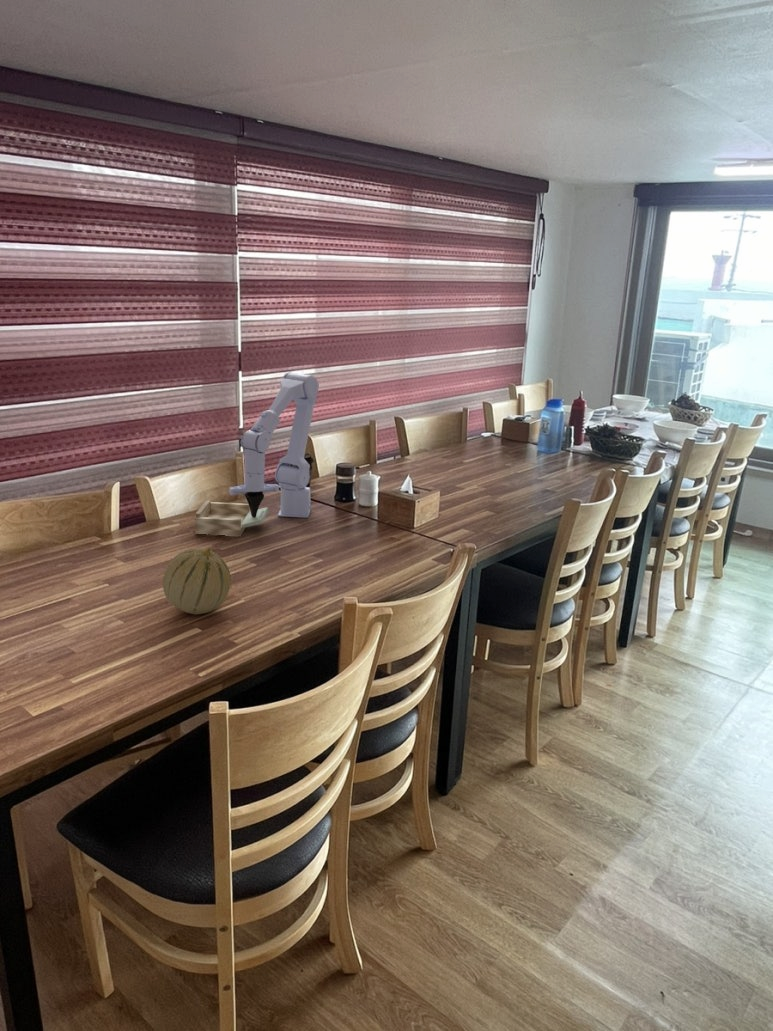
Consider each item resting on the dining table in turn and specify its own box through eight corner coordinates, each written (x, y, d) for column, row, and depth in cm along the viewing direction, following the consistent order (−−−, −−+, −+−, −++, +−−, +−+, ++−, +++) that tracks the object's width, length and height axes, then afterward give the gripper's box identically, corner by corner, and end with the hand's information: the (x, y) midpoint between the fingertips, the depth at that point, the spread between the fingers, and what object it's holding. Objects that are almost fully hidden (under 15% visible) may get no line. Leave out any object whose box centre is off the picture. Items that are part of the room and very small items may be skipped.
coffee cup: (315, 488, 257) (316, 453, 253) (311, 495, 249) (311, 459, 245) (291, 486, 258) (291, 451, 254) (286, 493, 250) (286, 457, 246)
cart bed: (250, 519, 224) (249, 500, 222) (240, 536, 209) (239, 517, 207) (208, 517, 224) (207, 498, 222) (195, 534, 209) (194, 514, 207)
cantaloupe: (152, 608, 165) (148, 546, 160) (209, 590, 174) (207, 532, 170) (186, 632, 155) (183, 567, 150) (244, 612, 165) (243, 551, 160)
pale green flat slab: (250, 514, 222) (268, 510, 221) (242, 528, 210) (262, 523, 210) (249, 511, 221) (267, 507, 221) (241, 524, 210) (260, 520, 209)
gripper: (273, 467, 217) (272, 510, 222) (226, 469, 210) (225, 514, 214) (281, 472, 212) (280, 517, 216) (233, 476, 205) (233, 521, 209)
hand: (253, 516), depth 215 cm, fingers closed, pressing on pale green flat slab
